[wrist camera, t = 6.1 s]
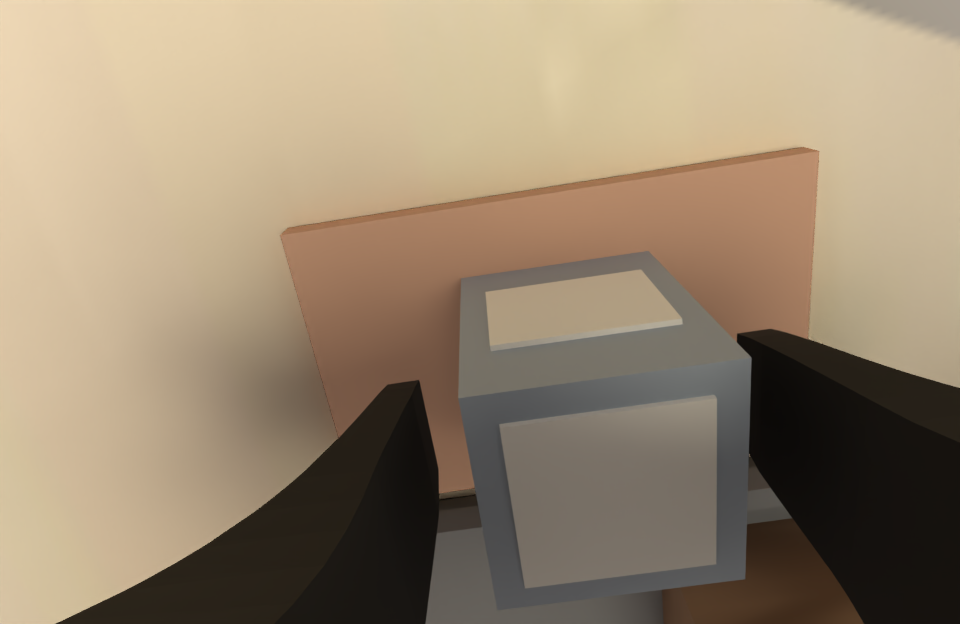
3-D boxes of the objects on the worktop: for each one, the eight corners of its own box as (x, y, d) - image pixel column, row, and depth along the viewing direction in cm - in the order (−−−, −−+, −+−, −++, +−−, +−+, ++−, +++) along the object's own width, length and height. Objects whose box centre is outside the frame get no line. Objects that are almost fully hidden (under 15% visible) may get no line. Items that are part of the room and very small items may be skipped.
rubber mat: (803, 147, 13) (819, 150, 12) (789, 429, 15) (801, 443, 15) (287, 228, 13) (280, 235, 12) (361, 488, 16) (357, 504, 15)
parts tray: (879, 439, 15) (911, 468, 14) (854, 648, 18) (879, 686, 17) (282, 522, 16) (268, 556, 15) (349, 712, 19) (341, 752, 18)
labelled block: (648, 246, 13) (754, 354, 8) (654, 411, 14) (747, 584, 10) (460, 273, 13) (457, 395, 8) (487, 435, 14) (498, 615, 10)
